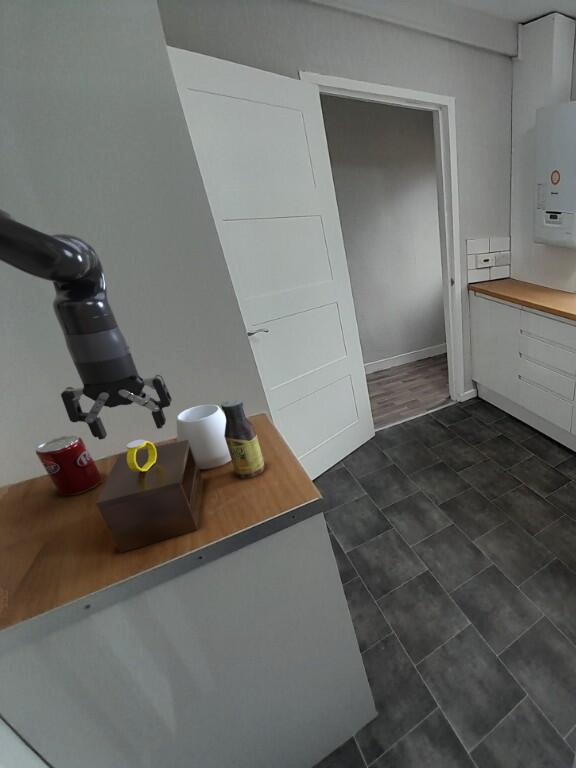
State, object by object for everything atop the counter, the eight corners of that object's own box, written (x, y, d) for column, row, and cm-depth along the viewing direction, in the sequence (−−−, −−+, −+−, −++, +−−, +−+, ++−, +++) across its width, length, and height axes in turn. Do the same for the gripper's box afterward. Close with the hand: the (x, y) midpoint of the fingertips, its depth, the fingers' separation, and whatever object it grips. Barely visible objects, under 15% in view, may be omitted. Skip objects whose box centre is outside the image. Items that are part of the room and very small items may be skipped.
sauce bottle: (231, 476, 100) (205, 405, 91) (254, 462, 105) (232, 393, 97) (250, 483, 98) (226, 410, 89) (272, 468, 103) (252, 398, 95)
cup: (174, 462, 105) (155, 415, 99) (231, 439, 115) (216, 395, 109) (196, 482, 98) (177, 432, 92) (255, 455, 108) (240, 409, 102)
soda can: (61, 501, 91) (34, 457, 85) (59, 486, 95) (33, 443, 90) (104, 486, 95) (82, 443, 90) (101, 472, 100) (79, 431, 95)
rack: (120, 553, 78) (95, 503, 73) (138, 499, 92) (118, 454, 87) (197, 530, 83) (179, 482, 79) (203, 482, 97) (188, 439, 93)
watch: (149, 459, 85) (138, 435, 83) (164, 458, 86) (153, 434, 83) (129, 477, 80) (117, 452, 77) (145, 476, 80) (133, 451, 78)
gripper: (36, 366, 67) (76, 451, 73) (148, 353, 73) (176, 431, 80) (53, 353, 72) (88, 432, 79) (155, 342, 79) (180, 415, 86)
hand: (132, 431), depth 79 cm, fingers open, 8 cm apart
